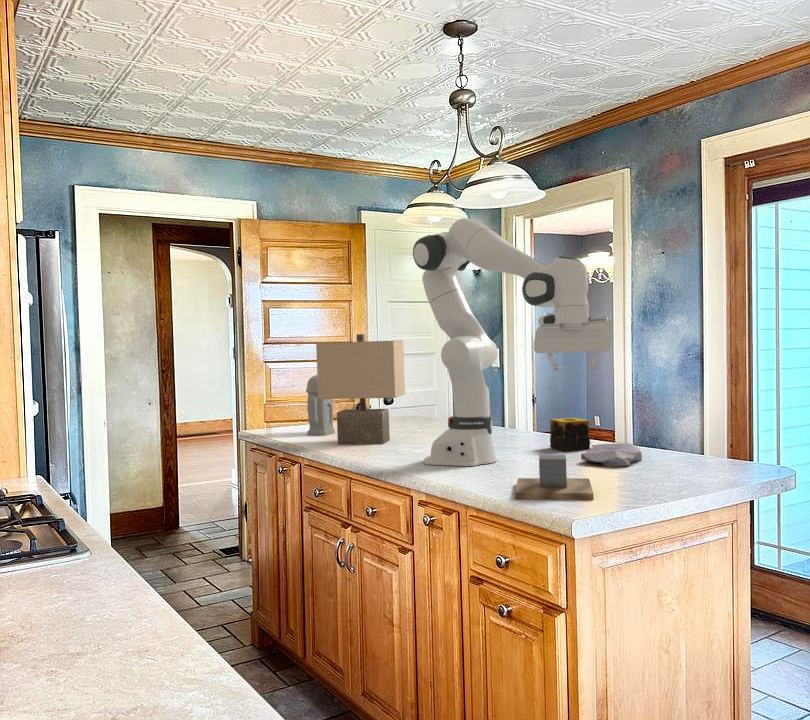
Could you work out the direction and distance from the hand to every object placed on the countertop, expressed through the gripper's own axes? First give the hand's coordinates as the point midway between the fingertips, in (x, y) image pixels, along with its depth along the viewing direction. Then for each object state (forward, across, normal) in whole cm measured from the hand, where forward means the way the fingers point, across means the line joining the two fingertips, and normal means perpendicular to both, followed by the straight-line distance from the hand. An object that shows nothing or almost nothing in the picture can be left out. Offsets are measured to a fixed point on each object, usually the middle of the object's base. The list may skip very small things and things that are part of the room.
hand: (573, 369), depth 196 cm
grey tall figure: (+29, +101, -97) cm, 143 cm away
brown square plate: (+29, +6, +16) cm, 34 cm away
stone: (+30, -12, -28) cm, 42 cm away
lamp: (+29, +76, -72) cm, 109 cm away
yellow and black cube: (+29, 0, -53) cm, 61 cm away
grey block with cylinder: (+28, +6, +14) cm, 32 cm away
